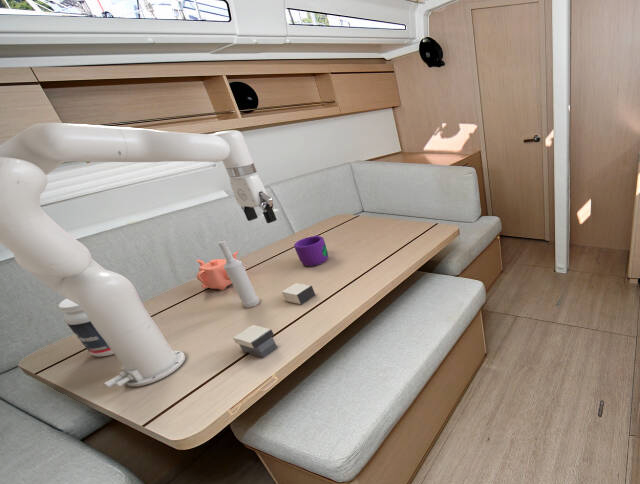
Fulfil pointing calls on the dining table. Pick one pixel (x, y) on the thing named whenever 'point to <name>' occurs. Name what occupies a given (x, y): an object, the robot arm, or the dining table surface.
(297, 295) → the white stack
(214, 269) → the teapot
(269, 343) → the gray rectangular block
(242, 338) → the white book
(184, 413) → the dining table surface
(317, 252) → the mug
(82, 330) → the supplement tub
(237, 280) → the bottle
